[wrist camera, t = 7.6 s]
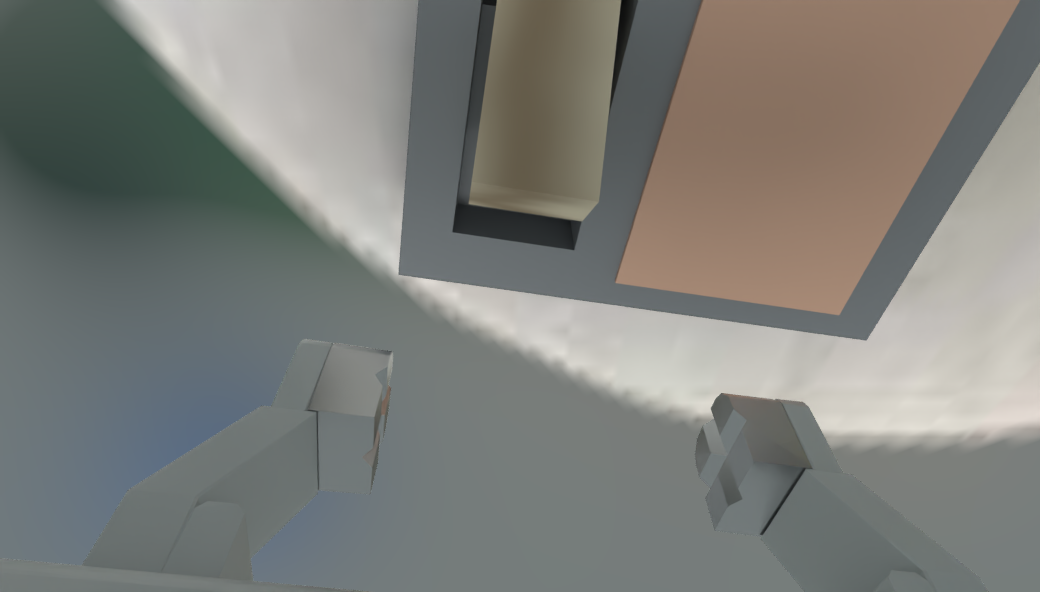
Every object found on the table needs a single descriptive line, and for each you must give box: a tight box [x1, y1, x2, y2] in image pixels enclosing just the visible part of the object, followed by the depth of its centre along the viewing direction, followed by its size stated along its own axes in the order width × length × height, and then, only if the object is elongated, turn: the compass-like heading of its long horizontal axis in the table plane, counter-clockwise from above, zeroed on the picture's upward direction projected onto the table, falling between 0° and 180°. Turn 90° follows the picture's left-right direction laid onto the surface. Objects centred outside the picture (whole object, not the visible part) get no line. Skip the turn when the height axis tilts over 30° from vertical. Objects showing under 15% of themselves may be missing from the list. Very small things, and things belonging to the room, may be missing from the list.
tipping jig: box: [399, 0, 1040, 340], centre depth 25 cm, size 21×20×7 cm
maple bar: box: [469, 0, 621, 221], centre depth 22 cm, size 4×14×2 cm
